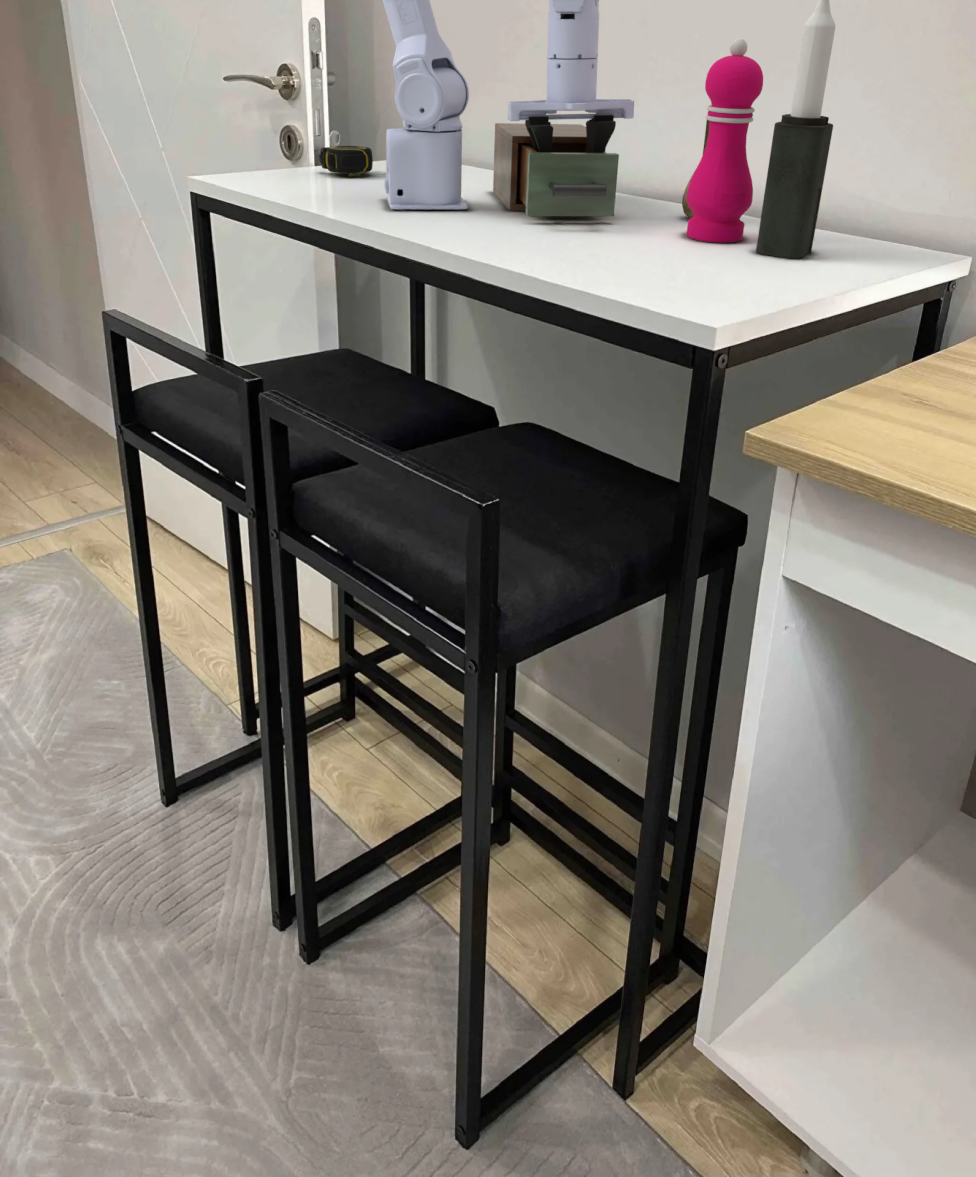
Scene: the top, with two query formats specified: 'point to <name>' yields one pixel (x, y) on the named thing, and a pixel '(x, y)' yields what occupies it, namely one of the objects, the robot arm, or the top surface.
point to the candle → (800, 150)
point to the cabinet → (508, 156)
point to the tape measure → (346, 159)
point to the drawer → (566, 181)
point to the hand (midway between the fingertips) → (568, 185)
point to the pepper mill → (725, 150)
